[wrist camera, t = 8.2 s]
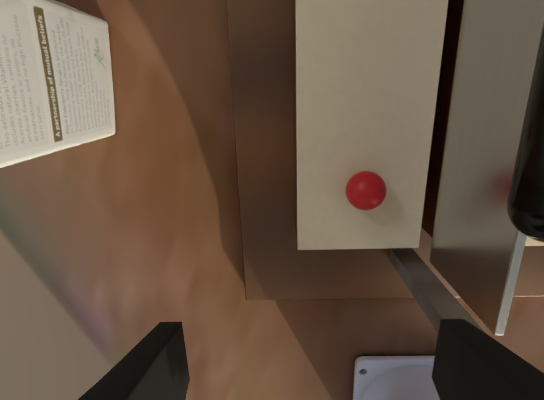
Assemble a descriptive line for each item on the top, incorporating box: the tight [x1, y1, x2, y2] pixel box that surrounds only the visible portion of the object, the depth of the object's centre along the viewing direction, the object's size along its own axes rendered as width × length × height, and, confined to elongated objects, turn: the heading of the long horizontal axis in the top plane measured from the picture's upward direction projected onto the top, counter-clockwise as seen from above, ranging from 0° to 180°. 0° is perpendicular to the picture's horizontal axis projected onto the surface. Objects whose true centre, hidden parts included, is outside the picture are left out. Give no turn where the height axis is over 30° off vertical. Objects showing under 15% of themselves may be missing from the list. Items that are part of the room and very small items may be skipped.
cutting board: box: [226, 0, 544, 333], centre depth 13 cm, size 24×18×8 cm
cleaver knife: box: [429, 0, 544, 335], centre depth 9 cm, size 15×2×6 cm, turn 2°
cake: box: [292, 0, 544, 250], centre depth 13 cm, size 14×12×5 cm
